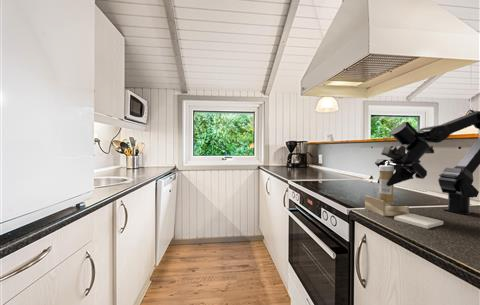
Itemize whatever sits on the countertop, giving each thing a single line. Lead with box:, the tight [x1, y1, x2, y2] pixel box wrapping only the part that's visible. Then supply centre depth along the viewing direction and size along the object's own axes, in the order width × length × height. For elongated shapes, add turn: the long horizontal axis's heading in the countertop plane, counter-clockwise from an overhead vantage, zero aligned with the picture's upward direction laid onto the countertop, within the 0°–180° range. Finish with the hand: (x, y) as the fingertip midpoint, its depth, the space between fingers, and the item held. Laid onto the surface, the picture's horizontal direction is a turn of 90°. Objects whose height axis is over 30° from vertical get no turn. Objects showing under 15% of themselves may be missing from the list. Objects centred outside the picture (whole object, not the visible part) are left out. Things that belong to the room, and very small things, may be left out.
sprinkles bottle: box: [378, 165, 395, 205], centre depth 81 cm, size 5×5×14 cm
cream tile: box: [393, 212, 444, 230], centre depth 70 cm, size 9×9×1 cm
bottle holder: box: [364, 194, 410, 217], centre depth 81 cm, size 10×10×5 cm
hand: (382, 184), depth 81 cm, fingers closed on sprinkles bottle, 4 cm apart
